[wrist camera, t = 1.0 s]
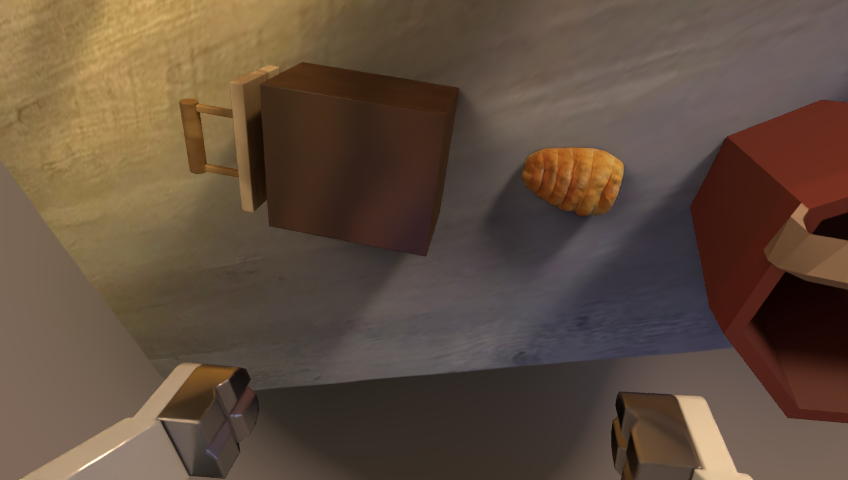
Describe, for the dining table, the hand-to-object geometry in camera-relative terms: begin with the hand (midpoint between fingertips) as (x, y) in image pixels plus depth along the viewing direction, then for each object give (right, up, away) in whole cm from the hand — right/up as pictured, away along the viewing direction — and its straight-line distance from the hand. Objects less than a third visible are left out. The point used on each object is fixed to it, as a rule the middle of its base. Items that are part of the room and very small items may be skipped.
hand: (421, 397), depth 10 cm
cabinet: (-5, +14, +40) cm, 42 cm away
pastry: (+16, +10, +38) cm, 42 cm away
